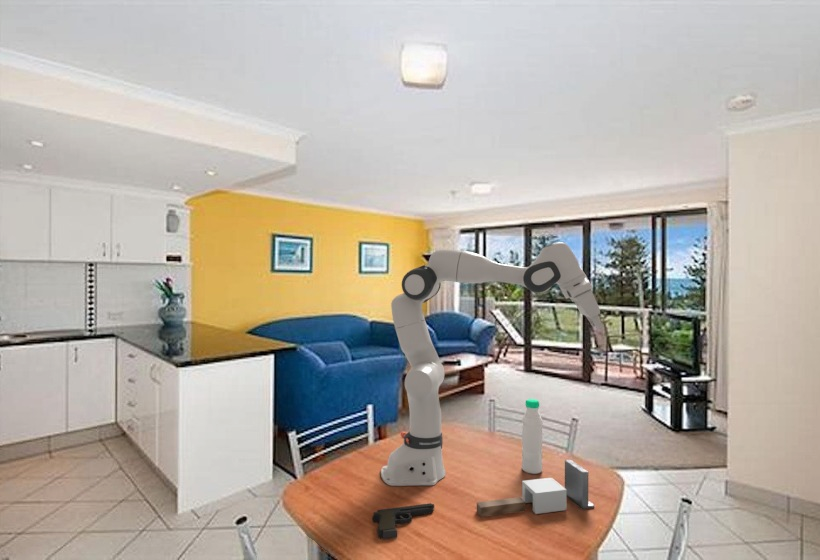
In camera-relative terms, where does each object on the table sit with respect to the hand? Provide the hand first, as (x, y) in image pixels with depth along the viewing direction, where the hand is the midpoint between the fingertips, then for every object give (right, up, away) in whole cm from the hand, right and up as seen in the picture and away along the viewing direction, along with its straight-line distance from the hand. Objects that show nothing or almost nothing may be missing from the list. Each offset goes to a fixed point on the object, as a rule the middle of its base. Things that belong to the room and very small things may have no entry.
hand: (597, 327), depth 136 cm
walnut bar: (-32, -53, -9) cm, 63 cm away
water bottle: (-16, -53, +18) cm, 59 cm away
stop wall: (-8, -53, -3) cm, 54 cm away
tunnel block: (-19, -53, -6) cm, 57 cm away
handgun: (-60, -53, -16) cm, 82 cm away
